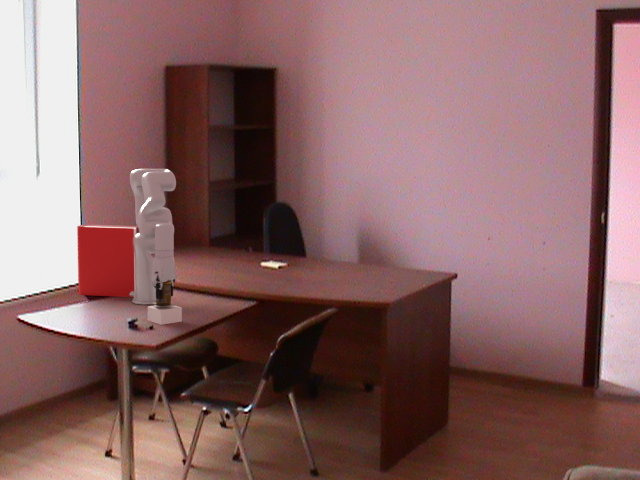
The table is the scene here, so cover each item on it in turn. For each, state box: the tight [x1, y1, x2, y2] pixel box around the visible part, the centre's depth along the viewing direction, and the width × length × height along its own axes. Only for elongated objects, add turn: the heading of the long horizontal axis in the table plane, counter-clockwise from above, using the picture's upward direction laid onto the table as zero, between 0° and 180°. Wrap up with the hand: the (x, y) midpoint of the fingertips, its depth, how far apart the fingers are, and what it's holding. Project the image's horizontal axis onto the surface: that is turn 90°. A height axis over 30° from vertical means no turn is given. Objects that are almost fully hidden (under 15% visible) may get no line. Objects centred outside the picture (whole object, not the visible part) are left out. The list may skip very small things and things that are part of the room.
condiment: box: [152, 280, 176, 307], centre depth 373 cm, size 7×8×12 cm
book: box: [76, 224, 139, 298], centre depth 426 cm, size 27×8×32 cm, turn 84°
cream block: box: [147, 305, 183, 326], centre depth 375 cm, size 10×10×6 cm
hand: (164, 296), depth 374 cm, fingers closed on condiment, 6 cm apart
